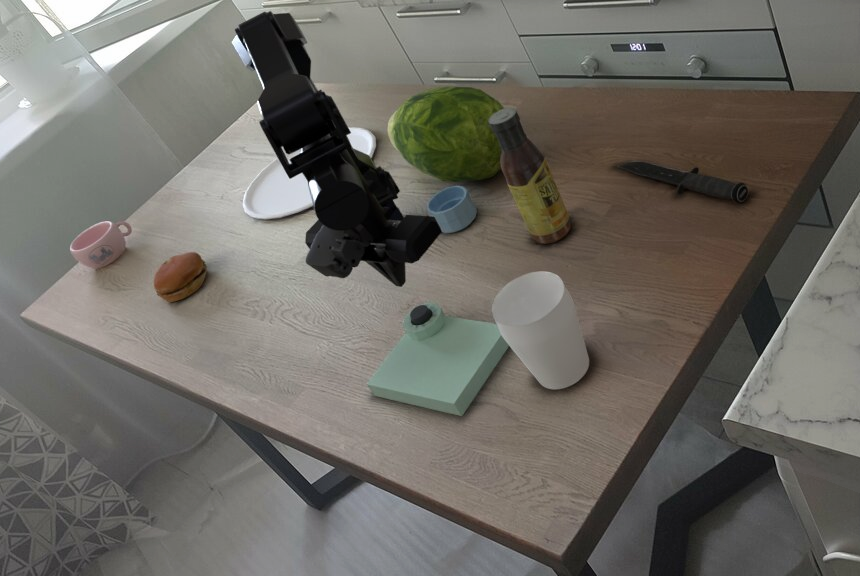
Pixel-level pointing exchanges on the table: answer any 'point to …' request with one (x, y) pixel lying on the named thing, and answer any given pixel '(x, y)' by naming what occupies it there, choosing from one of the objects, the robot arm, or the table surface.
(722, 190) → the knife
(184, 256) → the burger
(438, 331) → the scale
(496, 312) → the cup
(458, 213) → the bowl
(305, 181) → the plate
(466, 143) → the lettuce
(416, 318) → the tare button
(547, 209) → the sauce bottle
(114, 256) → the mug
